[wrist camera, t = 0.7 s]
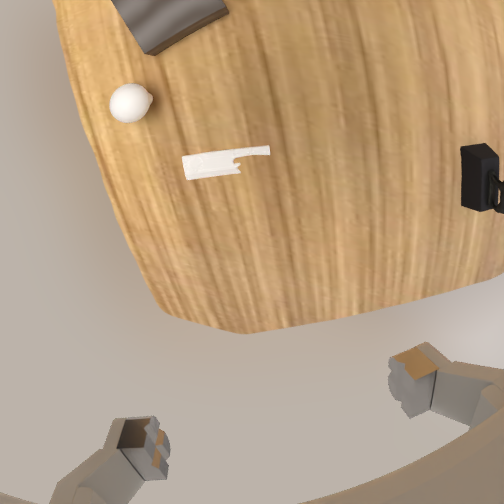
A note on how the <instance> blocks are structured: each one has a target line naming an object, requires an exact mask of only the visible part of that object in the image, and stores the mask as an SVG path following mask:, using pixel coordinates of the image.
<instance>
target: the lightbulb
mask: <svg viewBox="0 0 504 504" xmlns="http://www.w3.org/2000/svg"><path fill="white" fill-rule="evenodd" d="M152 101H153V96H152V95H151V94H150V93H148V92H147V90H146V89H145V88H144V87H142V86H141V85H138V84H135V83H129V84H125V85H122V86H121V87H119V88H118V89H116V91H115V92H114V93H113V95H112V96H111V99H110V111H111V113H112V115H113V116H114V118H115V119H117V120H118V121H120V122H124V123H132V122H136V121H138V120H140V119H141V118H142V117H143V116H144V115H145V114H146V112H147V111H148V109H149V106H150V104H151V103H152Z"/></svg>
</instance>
